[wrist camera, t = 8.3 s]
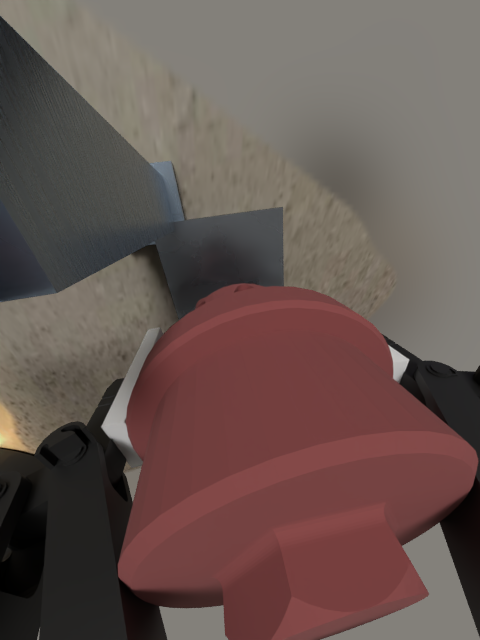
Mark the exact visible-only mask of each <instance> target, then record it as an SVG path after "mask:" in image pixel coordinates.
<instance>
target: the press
mask: <svg viewBox="0 0 480 640" xmlns="http://www.w3.org/2000/svg"><path fill="white" fill-rule="evenodd" d="M152 244H156V247H157V250H158V253H159V256H160V260H161V263H162V266H163V270H164V273H165V276H166V279H167V283H168V286H169V289H170V292H171V296H172V299H173V302H174V305H175V309H176V312H177V315H178V318H179V320H180V319H181V318H183V317H184V316H185V315H187V314H188V313H190V312H191V311H193V310H195V306H196V304H197V302H198V301H199V300H200V299H202V298H205V297H207V296H208V295H210V294H211V293H213V292H214V291H216V290H218V289H220V288H223V287H226V286H229V285H233V284H241V283H246V284H256V285H260V286H264V287H269V286H283V287H284V278H283V207H279V208H271V209H264V210H257V211H249V212H242V213H234V214H227V215H220V216H212V217H205V218H197V219H190V220H185V217H184V212H183V208H182V203H181V199H180V194H179V190H178V186H177V181H176V177H175V172H174V168H173V164H172V162H171V161H166V162H157V163H148V162H147V161H146V160H145V159H144V158H143V157H142V156H141V155H140V154H139V153H138V152H137V151H136V150H135V149H134V148H133V147H132V146H131V145H130V144H129V143H128V142H127V141H126V140H125V139H124V138H123V137H122V136H121V135H120V134H119V133H118V132H117V131H116V130H115V129H114V128H113V127H112V126H111V125H110V124H109V123H108V122H107V121H106V120H105V119H104V118H103V117H102V116H101V115H100V114H99V113H98V112H97V111H96V110H95V109H94V108H93V107H92V106H91V105H90V104H89V103H88V102H87V101H86V100H85V99H84V98H83V97H82V96H81V95H80V94H79V93H78V92H77V91H76V90H75V89H74V88H73V87H72V86H71V85H70V84H69V83H68V82H67V81H66V80H65V79H64V78H63V77H62V76H61V75H60V74H59V73H58V72H57V71H56V70H55V69H53V68H52V67H51V66H50V65H49V64H48V63H47V62H46V61H45V60H44V59H43V58H42V57H41V56H40V55H39V54H38V53H37V52H36V51H35V50H34V49H33V48H32V47H31V46H30V45H29V44H28V43H27V42H26V41H25V40H24V39H23V38H22V37H21V36H20V35H19V34H18V33H17V32H16V31H15V30H14V29H13V28H12V27H11V26H10V25H9V24H8V23H7V22H6V21H5V20H4V19H3V18H2V17H1V16H0V302H4V301H10V300H16V299H23V298H29V297H35V296H41V295H48V294H54V293H58V292H60V291H62V290H64V289H66V288H67V287H69V286H71V285H73V284H75V283H77V282H79V281H81V280H82V279H84V278H86V277H88V276H90V275H92V274H94V273H96V272H98V271H99V270H101V269H103V268H105V267H107V266H109V265H111V264H113V263H115V262H116V261H118V260H120V259H122V258H124V257H126V256H128V255H130V254H131V253H133V252H135V251H137V250H139V249H141V248H143V247H145V246H147V245H152Z"/></svg>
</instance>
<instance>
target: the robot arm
mask: <svg viewBox="0 0 480 640" xmlns="http://www.w3.org/2000/svg"><path fill="white" fill-rule="evenodd" d="M162 335H163V333H162V330H161V328H160V327H159V328H154V329H148V331H147V333H146V335H145V337H144V339H143V341H142V343H141V346H140V348H139V350H138V352H137V354H136V356H135V358H134V360H133V362H132V364H131V366H130V368H129V370H128V372H127V375H126V377H125V378H122V379H117V380H115V381H114V382H113V383H112V384H111V385H110V386H109V387H108V388H107V390H106V392H105V394H104V395H103V397H102V400H101V401H100V403H99V404H98V407H97V408H96V410H95V412H94V413H93V415H92V417H91V419H90V421H89V422H88V424H87V426H85V425H84V423H82V422H78V421H77V422H71V423H68V424H66V425H64V426H61V427H60V428H58V429H57V430H55V431H54V432H52V433H51V434H50V435H49V436H48V437H47V438H45V439H44V440H43V442H42V443H41V444H40V445H39V447H38V448H37V450H36V453H35V455H34V456H32V455H28V454H25V453H21V452H16V451H11V450H5V449H0V640H37V636H38V632H39V628H40V636H39V640H167V637H166V633H165V629H164V625H163V621H162V618H161V614H160V609H159V606H157V605H153V604H150V603H147V602H145V601H143V600H142V599H140V598H139V597H137V596H136V595H134V594H133V593H132V592H131V591H130V590H129V588H128V587H127V586H126V585H125V584H124V583H123V582H122V581H121V580H120V579H119V578H118V562H119V558H120V554H121V550H122V546H123V542H124V538H125V534H126V529H127V525H128V521H129V517H130V513H131V509H132V505H133V502H132V498H131V494H130V490H129V486H128V482H127V478H126V476H125V474H124V473H123V470H124V466H125V463H126V461H127V462H128V463H129V465H130V466H131V467H132V468H133V467H137V466H141V465H142V464H143V461H142V460H141V458H140V457H139V456H138V454H137V453H136V452H135V450H134V449H133V446H132V444H131V442H130V439H129V437H128V432H127V426H126V415H127V406H128V403H129V399H130V396H131V393H132V390H133V388H134V385H135V383H136V380H137V378H138V376H139V373H140V371H141V368H142V366H143V364H144V362H145V359H146V357H147V355H148V354H149V352H150V351H151V349H152V348H153V346H154V345H155V344H156V342H157V341H158V340H159V339H160V338H161V337H162ZM382 335H383V334H382ZM383 337H384V339H385V340H386V342H387V344H388V346H389V348H390V351H391V355H392V359H393V379H394V380H395V381H397V382H398V383H399V384H400V385H401V386H402V387H404V388H405V389H406V390H407V391H408V392H409V393H411V394H412V395H413V396H414V397H415V398H416V399H418V400H419V401H420V402H421V403H422V404H423V405H425V406H426V407H427V408H428V409H429V410H430V411H432V412H433V413H434V414H435V415H436V416H437V417H439V418H440V419H441V420H442V421H443V422H444V423H446V424H447V425H448V426H449V427H450V428H451V429H453V430H454V431H455V432H456V433H457V434H458V435H460V436H461V437H462V438H463V439H464V440H465V441H467V442H468V443H469V444H470V445H471V446H472V447H473V448H474V450H475V451H476V454H477V457H478V466H477V471H476V475H475V479H474V483H473V486H472V488H471V490H470V492H469V493H468V495H467V497H466V498H465V499H464V500H463V501H462V502H461V504H460V505H459V506H458V507H457V508H456V509H455V510H453V511H452V512H451V513H450V514H449V515H448V516H447V517H445V518H444V519H443V520H441V521H440V525H441V527H442V530H443V533H444V536H445V539H446V542H447V545H448V548H449V551H450V553H451V556H452V559H453V562H454V565H455V568H456V570H457V573H458V576H459V579H460V582H461V585H462V588H463V591H464V593H465V596H466V599H467V602H468V605H469V608H470V610H471V613H472V616H473V619H474V622H475V625H476V628H477V630H478V633H479V636H480V366H479V367H478V369H477V370H476V372H468V371H457V370H455V369H453V368H452V367H450V366H448V365H445V364H443V363H439V362H435V361H422V360H421V359H419V358H417V357H416V356H415V355H413V354H412V353H410V352H408V351H407V350H405V349H404V348H402V347H401V346H399V345H398V344H395V342H393V341H392V340H390V339H388V338H387V337H386V336H384V335H383Z"/></svg>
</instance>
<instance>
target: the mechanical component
mask: <svg viewBox="0 0 480 640" xmlns="http://www.w3.org/2000/svg"><path fill="white" fill-rule="evenodd" d="M126 426H127V432H128V437H129V439H130V442H131V444H132V446H133V449H134V450H135V452H136V453H137V454H138V456H139V457H140V458H141V460H142V461H143V464H142V468H141V472H140V476H139V481H138V484H137V489H136V493H135V497H134V501H133V505H132V509H131V513H130V517H129V521H128V525H127V529H126V534H125V538H124V542H123V546H122V550H121V554H120V558H119V562H118V578H119V579H120V580H121V581H122V582H123V583H124V584H125V585H126V586H127V587H128V588H129V590H130V591H131V592H132V593H133V594H134V595H136V596H137V597H139V598H140V599H142V600H143V601H145V602H147V603H150V604H153V605H157V606H163V607H170V608H202V607H212V606H221V605H224V623H225V635H226V636H227V638H228V639H229V640H320V639H323V638H326V637H329V636H332V635H335V634H338V633H341V632H344V631H346V630H349V629H351V628H355V627H357V626H360V625H363V624H365V623H368V622H371V621H373V620H376V619H378V618H381V617H383V616H386V615H388V614H391V613H393V612H396V611H398V610H401V609H403V608H405V607H408V606H410V605H412V604H414V603H416V602H418V601H420V600H422V599H424V598H425V597H427V596H428V595H429V593H428V591H427V589H426V587H425V586H424V584H423V582H422V581H421V579H420V577H419V575H418V573H417V572H416V570H415V568H414V566H413V565H412V563H411V561H410V560H409V558H408V556H407V555H406V553H405V551H404V550H403V548H402V545H404V544H406V543H408V542H410V541H411V540H413V539H414V538H416V537H418V536H419V535H421V534H422V533H424V532H426V531H427V530H429V529H430V528H432V527H433V526H435V525H436V524H438V523H439V522H440V521H441V520H443V519H444V518H445V517H447V516H448V515H449V514H450V513H451V512H452V511H453V510H455V509H456V508H457V507H458V506H459V505H460V504H461V502H462V501H463V500H464V499H465V498H466V497H467V495H468V493H469V492H470V490H471V488H472V486H473V483H474V479H475V475H476V471H477V466H478V457H477V454H476V451H475V450H474V448H473V447H472V446H471V445H470V444H469V443H468V442H467V441H465V440H464V439H463V438H462V437H461V436H460V435H458V434H457V433H456V432H455V431H454V430H453V429H451V428H450V427H449V426H448V425H447V424H446V423H444V422H443V421H442V420H441V419H440V418H439V417H437V416H436V415H435V414H434V413H433V412H432V411H430V410H429V409H428V408H427V407H426V406H425V405H423V404H422V403H421V402H420V401H419V400H418V399H416V398H415V397H414V396H413V395H412V394H411V393H409V392H408V391H407V390H406V389H405V388H404V387H402V386H401V385H400V384H399V383H398V382H397V381H395V380H394V379H393V359H392V355H391V351H390V348H389V346H388V344H387V342H386V340H385V339H384V337H383V335H382V334H381V333H380V332H379V331H378V330H377V328H376V327H375V326H374V325H373V324H372V323H370V322H369V321H367V320H366V319H365V318H363V317H362V316H360V315H359V314H357V313H356V312H354V311H353V310H351V309H349V308H348V307H346V306H345V305H343V304H341V303H340V302H338V301H336V300H335V299H333V298H331V297H329V296H327V295H324V294H321V293H318V292H316V291H313V290H308V289H302V288H297V287H283V286H269V287H264V286H260V285H256V284H246V283H241V284H233V285H229V286H226V287H223V288H220V289H218V290H216V291H214V292H213V293H211V294H210V295H208V296H207V297H205V298H202V299H200V300H199V301H198V302H197V304H196V306H195V310H193V311H191V312H190V313H188V314H187V315H185V316H184V317H183V318H181V319H180V320H179V321H178V322H176V323H175V324H174V325H172V326H171V327H170V328H169V329H168V330H167V331H166V332H165V333H164V334H163V335H162V337H161V338H160V339H159V340H158V341H157V342H156V344H155V345H154V346H153V348H152V349H151V351H150V352H149V354H148V355H147V357H146V359H145V362H144V364H143V366H142V368H141V371H140V373H139V376H138V378H137V380H136V383H135V385H134V388H133V390H132V393H131V396H130V399H129V403H128V406H127V415H126Z"/></svg>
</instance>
